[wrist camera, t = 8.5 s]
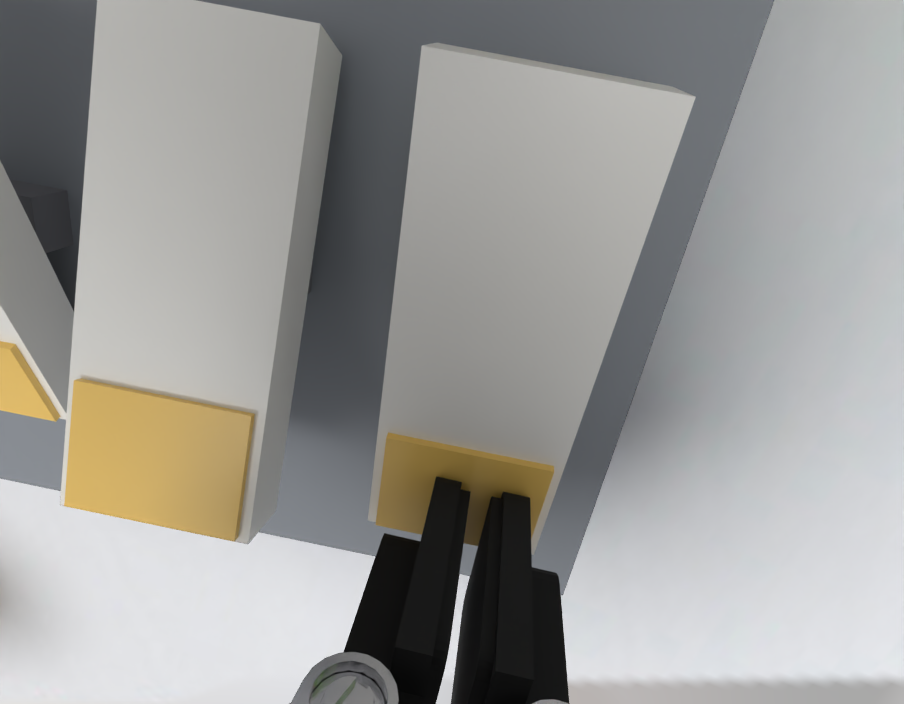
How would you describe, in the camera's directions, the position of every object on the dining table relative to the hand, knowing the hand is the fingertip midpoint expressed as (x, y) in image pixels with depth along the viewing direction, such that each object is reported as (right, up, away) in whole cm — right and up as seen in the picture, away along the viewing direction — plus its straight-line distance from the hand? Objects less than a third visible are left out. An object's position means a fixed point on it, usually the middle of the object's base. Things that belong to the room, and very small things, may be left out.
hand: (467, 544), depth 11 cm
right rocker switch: (0, +4, -1) cm, 4 cm away
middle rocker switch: (-5, +5, -1) cm, 7 cm away
